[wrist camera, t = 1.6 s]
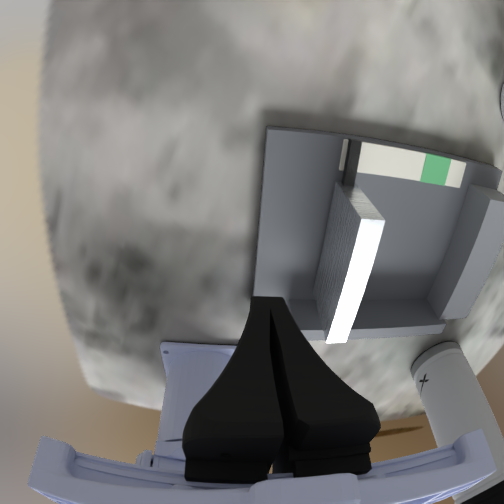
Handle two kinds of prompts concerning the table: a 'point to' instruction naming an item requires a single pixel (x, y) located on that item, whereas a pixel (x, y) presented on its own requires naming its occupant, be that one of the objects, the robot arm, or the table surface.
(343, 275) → the paddle
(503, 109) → the supplement bottle
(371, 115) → the table surface
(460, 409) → the travel mug
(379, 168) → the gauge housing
